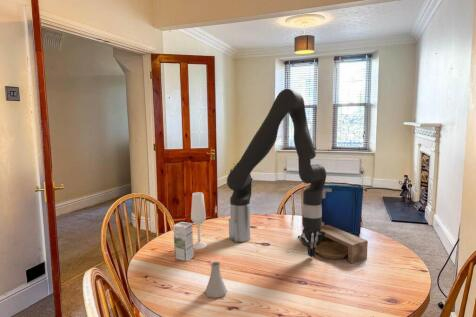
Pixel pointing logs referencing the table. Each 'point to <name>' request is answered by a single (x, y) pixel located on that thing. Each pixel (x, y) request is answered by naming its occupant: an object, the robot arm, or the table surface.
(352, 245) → the walnut shelf
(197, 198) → the champagne flute
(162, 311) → the table surface
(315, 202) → the robot arm
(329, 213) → the book
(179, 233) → the syrup box
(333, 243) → the plant saucer
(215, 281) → the flask
